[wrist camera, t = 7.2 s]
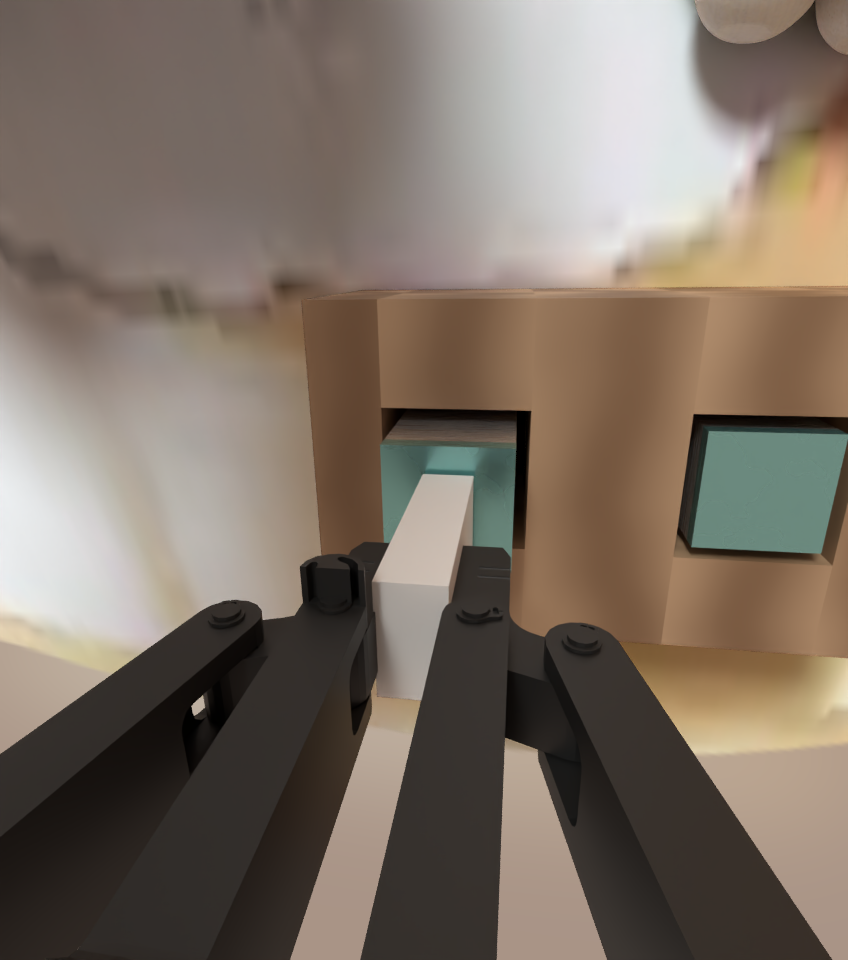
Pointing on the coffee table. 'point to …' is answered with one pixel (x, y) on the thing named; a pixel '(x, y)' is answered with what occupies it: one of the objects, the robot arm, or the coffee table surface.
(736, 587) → the socket block
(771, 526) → the peg
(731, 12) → the rainbow disc car
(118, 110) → the coffee table surface
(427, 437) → the peg
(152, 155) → the coffee table surface
